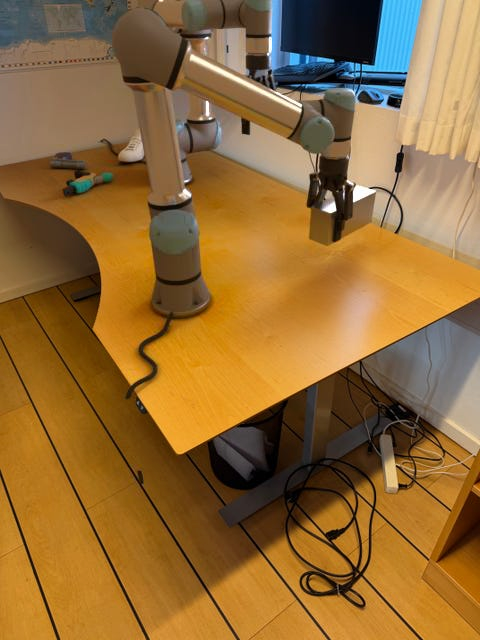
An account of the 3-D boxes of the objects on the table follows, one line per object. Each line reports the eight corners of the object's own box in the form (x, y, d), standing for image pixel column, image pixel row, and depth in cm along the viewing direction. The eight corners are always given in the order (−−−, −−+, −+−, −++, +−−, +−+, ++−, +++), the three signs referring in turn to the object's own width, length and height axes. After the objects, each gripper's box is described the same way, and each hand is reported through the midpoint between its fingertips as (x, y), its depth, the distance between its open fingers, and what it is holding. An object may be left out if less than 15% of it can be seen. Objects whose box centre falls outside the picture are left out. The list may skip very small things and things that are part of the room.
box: (327, 246, 132) (330, 213, 126) (308, 238, 136) (311, 206, 130) (371, 222, 144) (376, 191, 138) (353, 216, 148) (357, 185, 142)
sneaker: (112, 165, 217) (107, 137, 210) (140, 147, 239) (137, 122, 232) (133, 167, 215) (128, 139, 207) (159, 148, 237) (156, 123, 230)
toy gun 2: (40, 183, 186) (69, 189, 180) (86, 165, 204) (114, 170, 199) (43, 194, 188) (72, 201, 183) (88, 175, 207) (115, 180, 201)
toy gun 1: (98, 160, 223) (83, 171, 211) (61, 158, 226) (45, 169, 214) (96, 152, 220) (81, 162, 208) (59, 150, 223) (43, 160, 212)
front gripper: (375, 159, 119) (362, 243, 132) (313, 144, 130) (308, 222, 144) (357, 167, 114) (346, 252, 128) (295, 150, 126) (291, 230, 140)
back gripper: (269, 48, 150) (268, 119, 162) (223, 58, 133) (225, 136, 146) (290, 49, 146) (287, 122, 159) (245, 60, 130) (245, 140, 142)
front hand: (326, 236), depth 136 cm, fingers closed on box, 7 cm apart
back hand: (257, 129), depth 152 cm, fingers open, 13 cm apart
